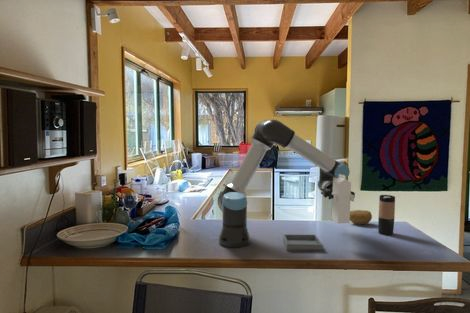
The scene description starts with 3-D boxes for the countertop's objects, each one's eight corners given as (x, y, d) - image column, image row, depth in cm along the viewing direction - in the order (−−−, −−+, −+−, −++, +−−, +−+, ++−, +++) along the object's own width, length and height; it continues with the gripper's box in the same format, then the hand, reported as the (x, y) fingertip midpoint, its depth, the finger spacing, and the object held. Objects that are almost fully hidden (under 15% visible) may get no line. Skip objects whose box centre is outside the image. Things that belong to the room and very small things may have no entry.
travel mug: (390, 231, 174) (392, 195, 173) (396, 235, 167) (397, 197, 165) (375, 230, 175) (377, 194, 173) (380, 235, 167) (382, 197, 166)
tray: (286, 250, 145) (287, 244, 145) (283, 240, 159) (283, 234, 159) (322, 251, 145) (322, 244, 145) (315, 240, 159) (315, 234, 159)
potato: (344, 221, 193) (344, 208, 193) (368, 221, 193) (368, 208, 192) (349, 226, 183) (349, 212, 183) (374, 226, 183) (375, 212, 182)
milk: (337, 223, 147) (339, 175, 145) (331, 220, 153) (332, 174, 151) (350, 222, 148) (351, 175, 147) (343, 219, 154) (344, 173, 153)
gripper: (349, 196, 168) (366, 206, 145) (311, 196, 168) (322, 206, 145) (350, 182, 167) (367, 190, 144) (312, 181, 168) (322, 189, 145)
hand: (344, 198), depth 145 cm, fingers closed on milk, 7 cm apart
